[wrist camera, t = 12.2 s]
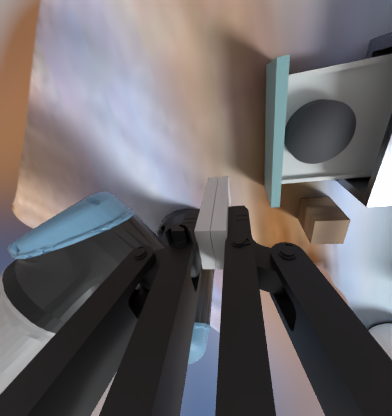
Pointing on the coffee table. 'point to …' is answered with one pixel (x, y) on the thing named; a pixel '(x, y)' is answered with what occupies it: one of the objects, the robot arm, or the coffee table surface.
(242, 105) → the coffee table surface
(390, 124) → the player housing
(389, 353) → the cup
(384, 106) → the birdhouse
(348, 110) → the puck
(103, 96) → the coffee table surface
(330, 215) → the walnut block
